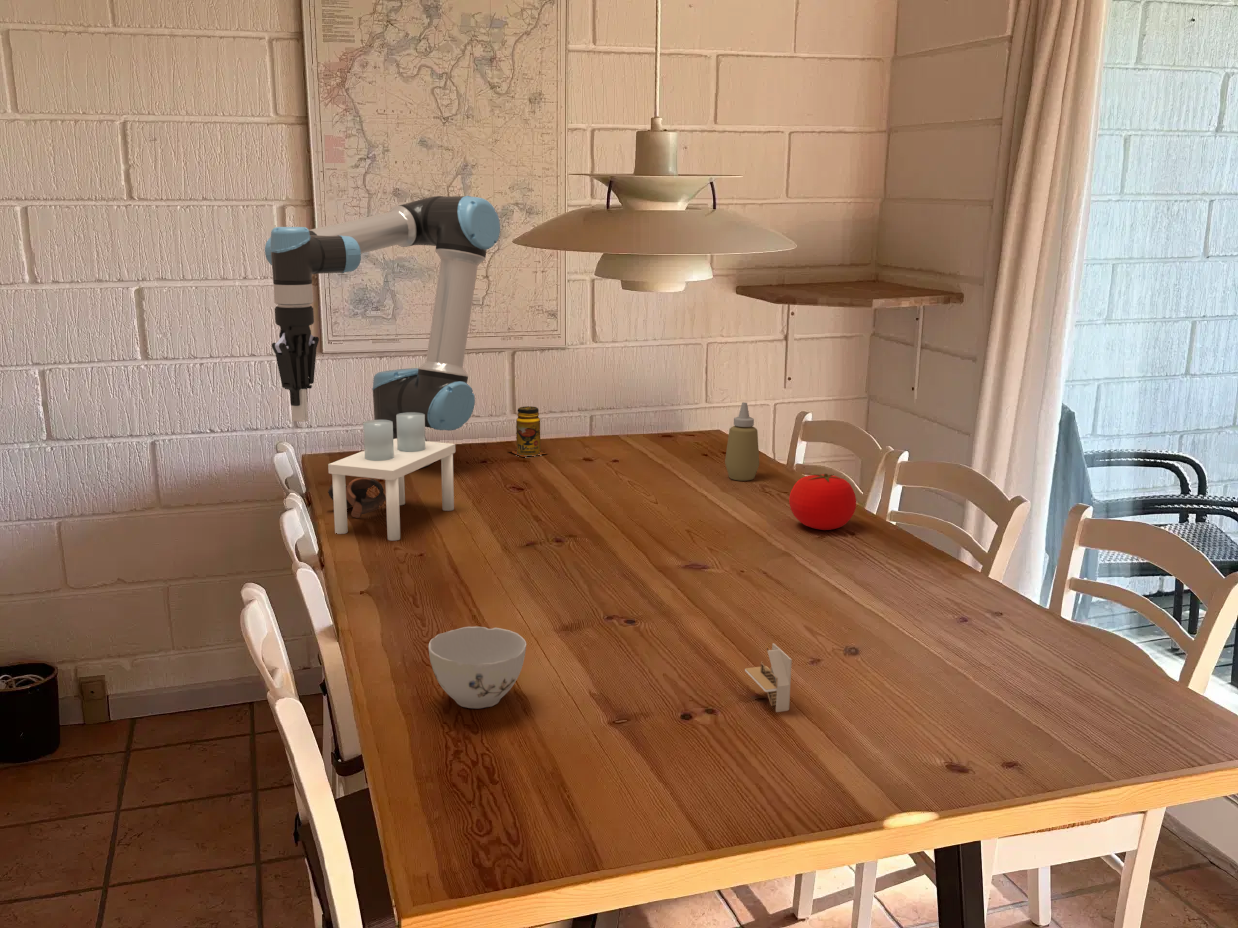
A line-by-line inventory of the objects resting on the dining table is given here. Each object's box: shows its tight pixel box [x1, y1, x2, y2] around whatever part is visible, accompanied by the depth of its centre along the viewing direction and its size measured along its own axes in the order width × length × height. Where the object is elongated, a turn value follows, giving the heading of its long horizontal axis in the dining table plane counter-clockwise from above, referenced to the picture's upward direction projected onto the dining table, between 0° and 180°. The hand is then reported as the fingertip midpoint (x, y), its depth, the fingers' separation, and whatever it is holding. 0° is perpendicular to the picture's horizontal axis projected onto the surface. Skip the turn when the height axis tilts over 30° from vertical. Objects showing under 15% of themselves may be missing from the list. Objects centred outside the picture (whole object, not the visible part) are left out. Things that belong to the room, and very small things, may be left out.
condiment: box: [515, 405, 542, 456], centre depth 282 cm, size 7×8×12 cm
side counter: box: [327, 439, 456, 542], centre depth 222 cm, size 25×14×14 cm, turn 161°
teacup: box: [428, 626, 527, 710], centre depth 145 cm, size 15×12×8 cm
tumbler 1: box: [362, 419, 394, 461], centre depth 216 cm, size 6×6×7 cm
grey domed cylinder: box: [396, 412, 426, 452], centre depth 224 cm, size 6×6×7 cm
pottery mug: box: [327, 477, 386, 519], centre depth 228 cm, size 12×10×8 cm
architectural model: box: [744, 642, 793, 713], centre depth 145 cm, size 3×7×7 cm, turn 17°
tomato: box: [788, 473, 857, 531], centre depth 222 cm, size 12×13×11 cm
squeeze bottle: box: [724, 401, 760, 482], centre depth 259 cm, size 8×8×18 cm
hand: (300, 420), depth 229 cm, fingers closed
